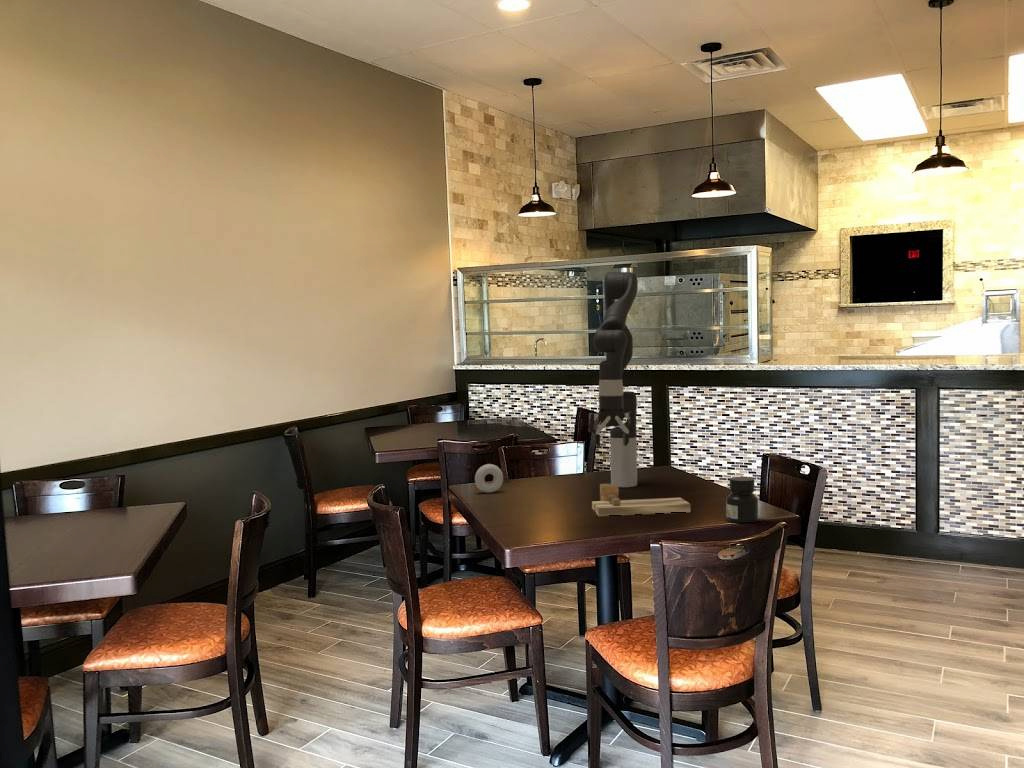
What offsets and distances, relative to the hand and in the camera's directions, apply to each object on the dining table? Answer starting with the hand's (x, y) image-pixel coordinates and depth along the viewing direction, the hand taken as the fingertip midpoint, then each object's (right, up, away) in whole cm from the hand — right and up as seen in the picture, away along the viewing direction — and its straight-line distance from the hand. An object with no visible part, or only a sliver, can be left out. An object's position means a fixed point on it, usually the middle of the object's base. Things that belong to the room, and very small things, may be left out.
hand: (611, 446), depth 267 cm
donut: (-39, -18, +28) cm, 51 cm away
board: (+8, -19, -7) cm, 22 cm away
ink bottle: (+35, -20, -22) cm, 46 cm away
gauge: (0, -19, -4) cm, 20 cm away
